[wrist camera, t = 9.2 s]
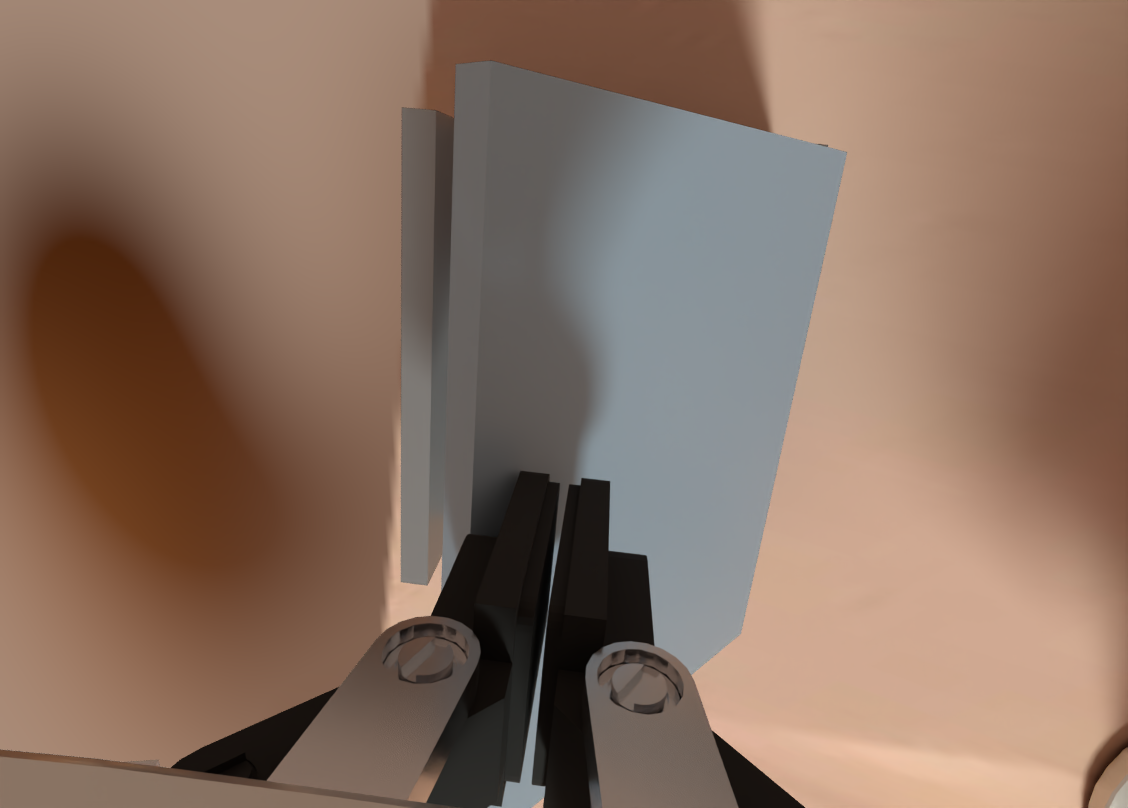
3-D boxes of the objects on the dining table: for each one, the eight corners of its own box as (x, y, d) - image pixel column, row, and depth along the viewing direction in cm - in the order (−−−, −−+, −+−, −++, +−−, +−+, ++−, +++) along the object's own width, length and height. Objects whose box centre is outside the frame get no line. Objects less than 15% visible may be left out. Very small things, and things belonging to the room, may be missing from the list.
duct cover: (720, 621, 22) (740, 633, 22) (434, 843, 14) (455, 870, 13) (818, 151, 17) (847, 152, 17) (455, 64, 9) (491, 61, 8)
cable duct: (705, 535, 28) (727, 623, 22) (443, 505, 29) (400, 582, 23) (775, 156, 23) (828, 145, 17) (453, 127, 23) (401, 107, 18)
